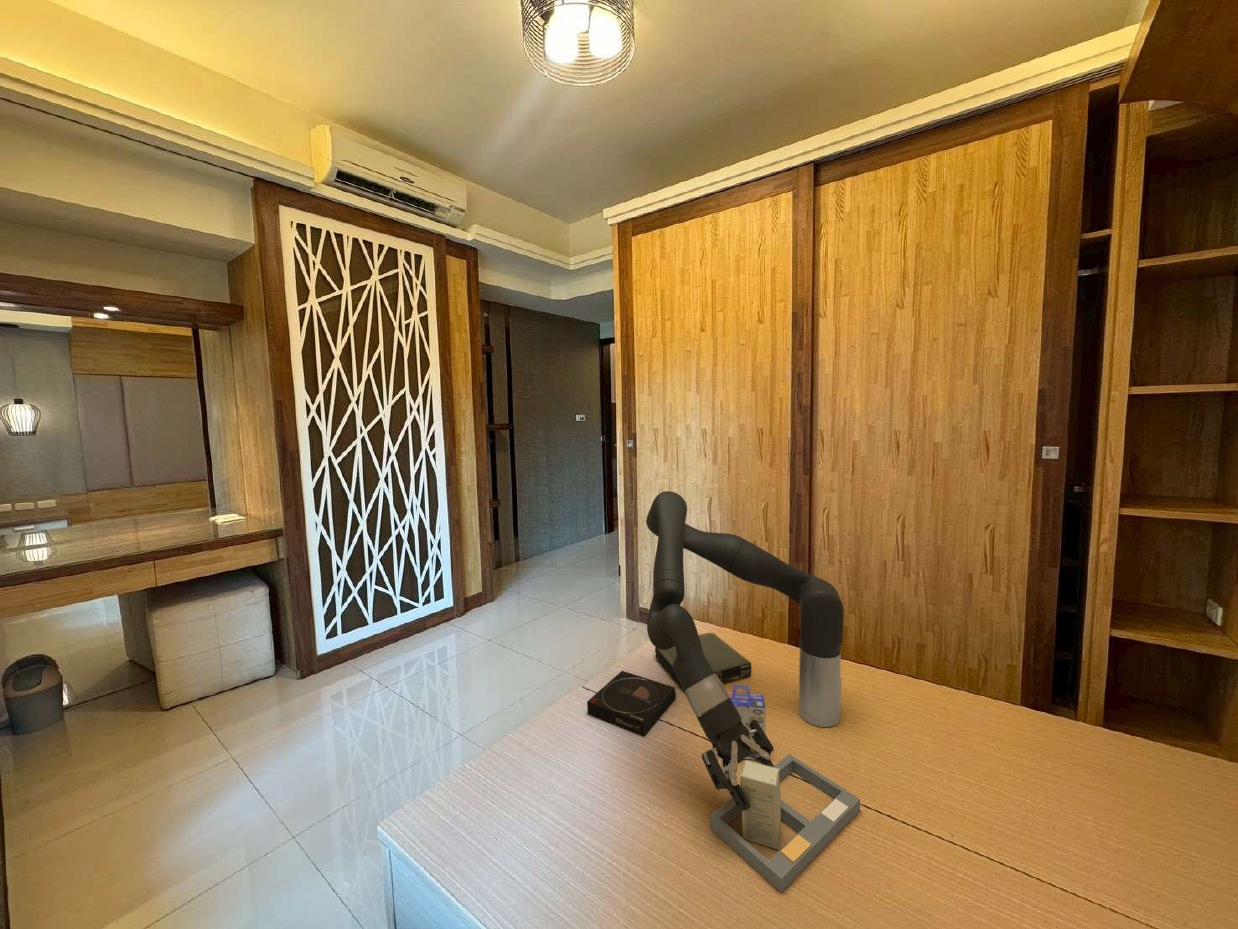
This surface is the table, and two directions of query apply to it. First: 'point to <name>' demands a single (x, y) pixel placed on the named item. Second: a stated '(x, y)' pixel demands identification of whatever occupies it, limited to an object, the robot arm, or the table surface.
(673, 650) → the network switch
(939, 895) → the table surface
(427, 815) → the table surface
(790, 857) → the grey divided frame
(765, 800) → the skincare box
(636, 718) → the portable cd player
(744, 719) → the ink cartridge box
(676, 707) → the table surface
